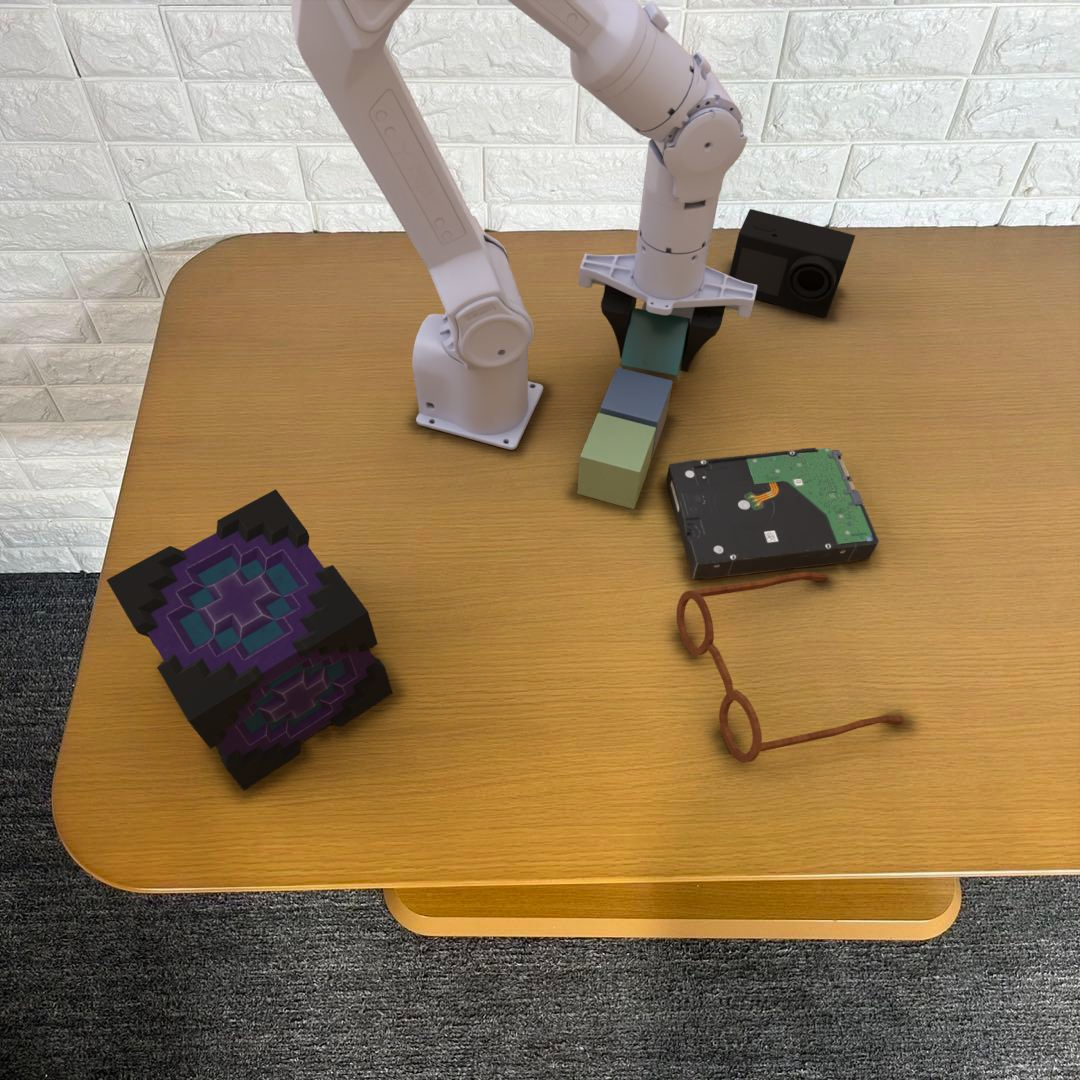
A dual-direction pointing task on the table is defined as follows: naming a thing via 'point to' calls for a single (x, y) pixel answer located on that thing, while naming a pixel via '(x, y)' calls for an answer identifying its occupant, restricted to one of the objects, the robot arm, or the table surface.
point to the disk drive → (769, 512)
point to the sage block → (615, 460)
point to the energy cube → (255, 637)
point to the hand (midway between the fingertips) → (655, 357)
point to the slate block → (638, 399)
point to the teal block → (655, 344)
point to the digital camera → (791, 261)
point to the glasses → (730, 693)
